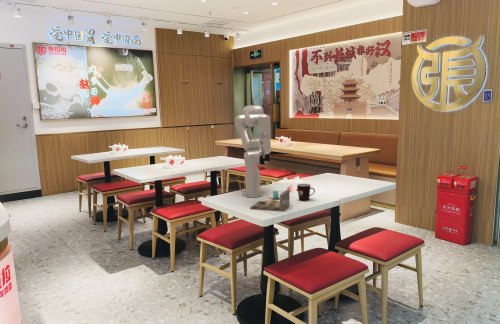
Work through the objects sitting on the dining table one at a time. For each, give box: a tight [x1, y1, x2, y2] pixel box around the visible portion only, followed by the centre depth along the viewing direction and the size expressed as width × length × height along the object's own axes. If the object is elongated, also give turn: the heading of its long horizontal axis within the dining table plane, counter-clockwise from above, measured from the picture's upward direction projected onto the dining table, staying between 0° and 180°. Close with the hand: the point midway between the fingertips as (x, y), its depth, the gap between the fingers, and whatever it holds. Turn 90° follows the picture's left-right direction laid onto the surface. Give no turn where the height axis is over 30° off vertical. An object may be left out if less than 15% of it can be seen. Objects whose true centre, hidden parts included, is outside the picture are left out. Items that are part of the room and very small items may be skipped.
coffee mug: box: [296, 183, 316, 202], centre depth 245 cm, size 12×9×10 cm
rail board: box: [249, 189, 291, 212], centre depth 231 cm, size 21×13×10 cm, turn 68°
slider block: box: [265, 196, 280, 208], centre depth 230 cm, size 9×9×4 cm
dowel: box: [272, 190, 279, 200], centre depth 229 cm, size 3×3×8 cm
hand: (264, 162), depth 235 cm, fingers open, 9 cm apart
